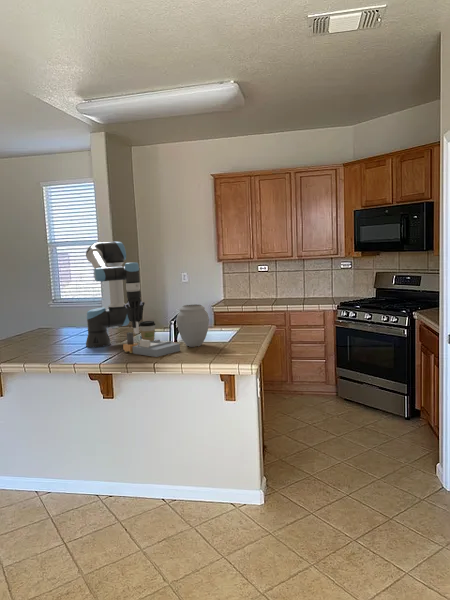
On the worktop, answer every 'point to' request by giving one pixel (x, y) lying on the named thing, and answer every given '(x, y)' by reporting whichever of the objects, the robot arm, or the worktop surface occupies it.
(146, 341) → the shutter
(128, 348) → the plug
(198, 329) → the vase
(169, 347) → the socket plate
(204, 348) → the worktop surface
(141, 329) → the coffee cup
